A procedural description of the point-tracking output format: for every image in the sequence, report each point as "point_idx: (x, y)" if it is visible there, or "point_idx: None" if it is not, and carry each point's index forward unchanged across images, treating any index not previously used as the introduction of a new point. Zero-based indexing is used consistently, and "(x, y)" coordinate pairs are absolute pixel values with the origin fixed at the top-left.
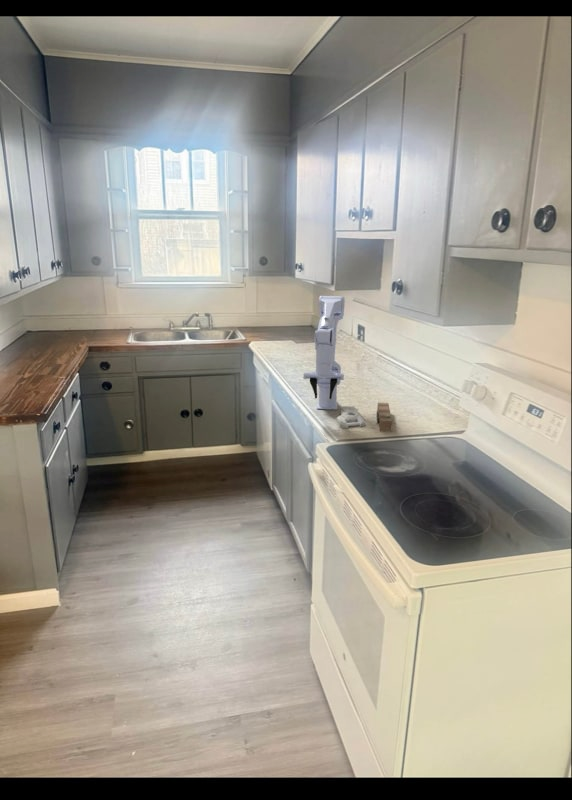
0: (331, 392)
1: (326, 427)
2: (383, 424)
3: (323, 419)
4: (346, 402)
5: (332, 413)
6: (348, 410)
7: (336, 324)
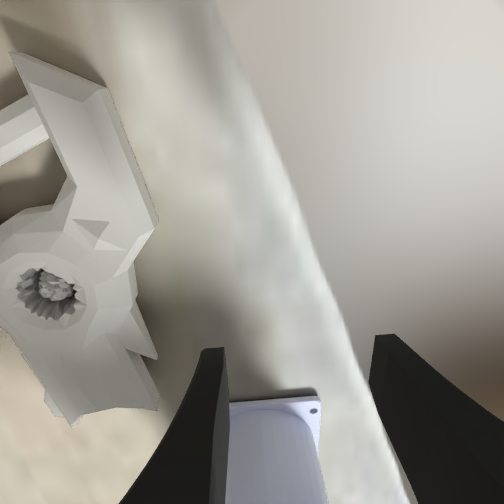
0: (192, 410)
1: (224, 64)
2: None
3: (266, 242)
4: None
5: None
6: (83, 346)
7: None
